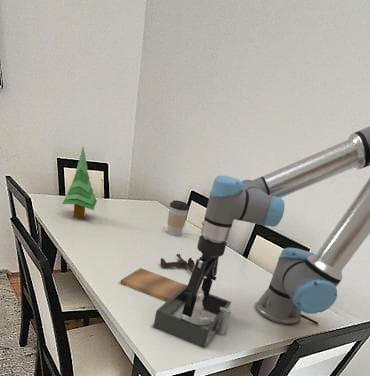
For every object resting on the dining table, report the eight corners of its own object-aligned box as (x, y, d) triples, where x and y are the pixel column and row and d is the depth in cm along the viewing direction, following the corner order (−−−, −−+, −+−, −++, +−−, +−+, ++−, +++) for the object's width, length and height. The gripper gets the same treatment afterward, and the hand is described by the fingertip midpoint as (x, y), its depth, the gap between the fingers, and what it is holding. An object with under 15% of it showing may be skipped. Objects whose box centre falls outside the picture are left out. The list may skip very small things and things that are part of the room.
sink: (234, 319, 123) (241, 297, 119) (212, 351, 105) (220, 326, 101) (182, 299, 127) (187, 277, 123) (153, 327, 109) (158, 302, 105)
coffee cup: (162, 229, 185) (168, 197, 177) (180, 230, 188) (186, 200, 180) (167, 236, 178) (173, 203, 170) (185, 237, 181) (192, 206, 173)
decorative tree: (100, 222, 174) (107, 151, 158) (66, 221, 166) (69, 146, 150) (90, 212, 183) (95, 144, 167) (57, 211, 175) (59, 139, 159)
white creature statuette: (212, 324, 117) (222, 290, 111) (195, 333, 111) (204, 297, 105) (189, 310, 122) (198, 276, 115) (171, 318, 116) (179, 282, 109)
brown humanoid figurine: (154, 249, 152) (188, 248, 157) (154, 259, 154) (187, 257, 159) (170, 269, 138) (206, 267, 144) (169, 280, 141) (204, 277, 146)
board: (189, 289, 135) (190, 286, 134) (173, 304, 124) (174, 300, 123) (140, 270, 139) (140, 267, 139) (120, 283, 128) (120, 280, 127)
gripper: (215, 224, 113) (198, 288, 125) (183, 244, 93) (166, 317, 104) (238, 232, 112) (219, 296, 123) (211, 254, 91) (191, 328, 103)
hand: (195, 306), depth 114 cm, fingers open, 13 cm apart
